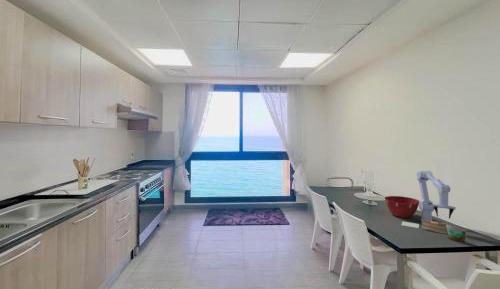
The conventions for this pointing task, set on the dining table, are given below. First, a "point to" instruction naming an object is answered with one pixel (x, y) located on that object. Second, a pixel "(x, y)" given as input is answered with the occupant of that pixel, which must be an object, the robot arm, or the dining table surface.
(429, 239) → the dining table surface
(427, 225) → the crate
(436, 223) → the block
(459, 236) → the food container
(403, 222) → the mat
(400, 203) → the mixing bowl
